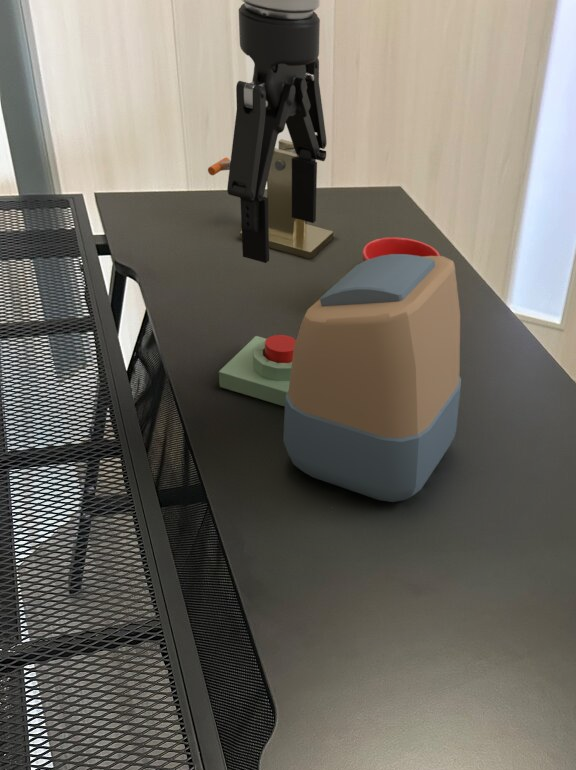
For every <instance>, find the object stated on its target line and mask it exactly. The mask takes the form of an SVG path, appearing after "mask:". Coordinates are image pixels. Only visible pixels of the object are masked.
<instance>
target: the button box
mask: <svg viewBox="0 0 576 770" xmlns="http://www.w3.org/2000/svg"><path fill="white" fill-rule="evenodd" d="M266 339H267V338H265V337H262V336H258V335H255V336H254V337H253V338H252V339H250V341H249V342H248V343H247V344H246V345H245V346H244V347H243V348H241V349H240V351H238V352H237V353H236V354H235V355H234V356H233V357H232V358H231V359H230V360H229V361H228V362H227V363H226V364H225V365H224V366H222V368H220V370H218V381H219V383H218V384H219V387H220V388H222V389H226V390H227V391H228V390H229V391H232V392H236V393H239V394H242V395H245V396H249V397H251V398H254V399H259V400H260V401H261V400H262V401H265V402H268V403H271V404H274V405H278V406H281V407H283V408H285V397H286V395H287V392H288V390H289V383H290V375H291V367H292V362H290V363H276V362H273V361H270V360H268V359H267V358H266V356H265V341H266Z"/></svg>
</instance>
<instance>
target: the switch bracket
mask: <svg viewBox="0 0 576 770" xmlns="http://www.w3.org/2000/svg"><path fill="white" fill-rule="evenodd" d="M287 149H295V148H294V145H293V143H292V141H290V140H286V139H283V138H282V139H279V140H278V148H276V147H275V149H274V153H273V158H272V162H271V166H270V170H269V175H268V179H267V183H266V190H267V191H266V198H268V218H269V249H271V250H276V251H279V252H284V253H285V254H286V253H287V254H290V255H294V256H297V257H301V258H304V259H308V260H311V259H313V258H314V257H315V256H316V255H318V254H319V252H320V251H321V250H323V249H324V248H325V247H326V246H327V245H328V244H329V243H330V242H331V241H333V239H334V231H333V230H330V229H326V228H323V227H318V226H315V225H311V224H308V222H307V221H303V220H300V219H296V218H292V158H293V157H294V156H295V157H297V154H295V153H291V152H288V151H284V150H287ZM298 156H299V158H300V155H298ZM239 240H240V241H242V230H241V231H239Z"/></svg>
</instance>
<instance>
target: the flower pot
mask: <svg viewBox="0 0 576 770" xmlns="http://www.w3.org/2000/svg"><path fill="white" fill-rule="evenodd" d="M361 254H362V262H364V261H366V260H369V259H372V258H375V257H379V256H384V255H390V254H407V255H415V256H421V257H424V256H441V254H440V253H439V251H438V250H437V249H436V248H434V247H433V246H431V245H429V244H427V243H425V242H422V241H419V240H416V239H411V238H407V237H394V236H393V237H382V238H377V239H374V240H371V241H369V242H368V243H367V244H365V245H364V247H363V249H362V253H361Z"/></svg>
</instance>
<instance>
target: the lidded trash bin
mask: <svg viewBox="0 0 576 770" xmlns="http://www.w3.org/2000/svg"><path fill="white" fill-rule="evenodd" d="M460 309H461V308H460V300H459V291H458V283H457V275H456V266H455V262H454V261H453V260H452V259H450V258H447V257H446V256H443V255H440V256H424V257H421V256H415V255H407V254H390V255H384V256H379V257H375V258H372V259H369V260H366V261H364V262H363V261H362V262H360V263H357V264H356V265H355V266H354V267H353V268H352V269H351V270H349V271H348V272H347V273H346V274H345V275H344V276H343V277H342V278H340V279H339V280H338V281H337V282H335V284H334V285H332V286H331V287H330V288H329V289H328V290H327V291H326V292H325V293H323V295H321V296H320V297H319V299H318V300H317V301H315V302H314V303H313V304H312V305H311V306H310V307H309V308H307V310H306V312H305V314H304V316H303V319H302V321H301V324H300V327H299V330H298V332H297V336H296V339H295V340H296V342H295V345H294V351H293V359H292V367H291V375H290V383H289V390H288V392H287V395H286V397H285V407H284V418H283V419H284V420H283V437H282V438H283V439H282V442H283V444H284V447H285V449H286V452H287V454H288V456H289V458H290V460H291V463H292V465H294V466H295V467H296V468H297V469H299V470H300V471H301V472H303V473H304V474H306V475H308V476H309V477H312V478H313V479H317V480H320V481H322V482H325V483H328V484H331V485H333V486H337V487H339V488H341V489H342V488H343V489H345V490H348V491H351V492H355V493H357V494H360V495H362V496H366V497H367V498H368V497H369V498H372V499H374V500H377V501H383V502H390V503H396V502H401V501H406V500H408V499H410V498H412V497H413V496H414V495H416V494H417V493H418V492H419V491H421V490H422V489H423V487H424V486H425V484H426V483H427V481H428V480H429V478H430V476H431V475H432V474H433V472H434V470H435V469H436V468H437V466H438V464H439V463H440V462H441V460H442V459H443V458H444V455H445V454H446V452H447V451H448V449H449V448H450V446H451V444H452V443H453V440H454V439H455V436H456V434H457V433H456V432H457V428H458V417H459V408H460V407H459V406H460V398H461V389H462V387H461V386H462V378H461V376H460V370H461V369H460V366H461V365H460V364H461V362H460V361H461V350H460V349H461V347H460V346H461V310H460Z"/></svg>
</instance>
